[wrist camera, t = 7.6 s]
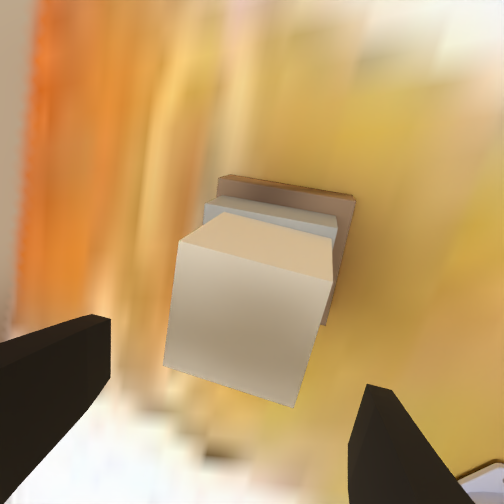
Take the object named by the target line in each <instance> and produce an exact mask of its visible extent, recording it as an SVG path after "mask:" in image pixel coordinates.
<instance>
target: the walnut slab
mask: <svg viewBox="0 0 504 504" xmlns="http://www.w3.org/2000/svg"><path fill="white" fill-rule="evenodd" d="M221 195H225V196H230V197H236V198H241V199H247V200H252V201H258V202H263V203H269V204H274V205H280V206H285V207H291V208H296V209H301V210H307V211H312V212H318V213H323V214H329V215H334V216H336V219H337V226H338V230H337V234H336V238H335V242H334V247H333V251H332V264H333V284H332V287H331V291H330V294H329V297H328V300H327V303H326V307H325V310H324V313H323V316H322V319H321V323H320V325H324V326H326V322H327V318H328V314H329V310H330V306H331V302H332V298H333V294H334V289H335V285H336V281H337V277H338V273H339V269H340V265H341V261H342V257H343V253H344V249H345V245H346V240H347V236H348V232H349V228H350V224H351V220H352V216H353V212H354V208H355V204H356V200H355V199H354V197H353V195H348V194H342V193H336V192H330V191H324V190H319V189H313V188H307V187H301V186H295V185H289V184H283V183H277V182H271V181H265V180H259V179H253V178H247V177H241V176H236V175H227V176H223V177H220V178H218V188H217V197H219V196H221ZM217 197H216V198H217Z"/></svg>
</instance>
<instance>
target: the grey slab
mask: <svg viewBox="0 0 504 504" xmlns="http://www.w3.org/2000/svg"><path fill="white" fill-rule="evenodd" d="M223 212H227V213H231V214H235V215H240V216H244V217H248V218H252V219H256V220H260V221H264V222H268V223H272V224H276V225H280V226H283V227H287V228H291V229H295V230H299V231H303V232H307V233H311V234H315V235H319V236H323V237H327V238H331V239H332V251H333V247H334V242H335V238H336V234H337V230H338V226H337V219H336V216H334V215H329V214H323V213H318V212H312V211H307V210H301V209H296V208H291V207H285V206H280V205H274V204H269V203H263V202H258V201H252V200H247V199H241V198H236V197H230V196H225V195H221V196H219V197H217V198H215V199H213V200H211V201H209V202H207V203H205V208H204V218H203V225H204V224H206V223H207V222H209V221H210V220H212V219H213V218H215V217H217V216H218V215H220V214H221V213H223Z"/></svg>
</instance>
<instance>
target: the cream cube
mask: <svg viewBox="0 0 504 504" xmlns="http://www.w3.org/2000/svg"><path fill="white" fill-rule="evenodd" d="M332 284H333V264H332V239H331V238H327V237H323V236H319V235H315V234H311V233H307V232H303V231H299V230H295V229H291V228H287V227H283V226H280V225H276V224H272V223H268V222H264V221H260V220H256V219H252V218H248V217H244V216H240V215H235V214H231V213H227V212H223V213H221V214H220V215H218V216H217V217H215V218H213V219H212V220H210V221H209V222H207V223H206V224H204V225H203V226H201V227H199V228H198V229H196V230H195V231H193V232H192V233H190V234H189V235H187V236H185V237H184V238H182V239H181V240H179V244H178V252H177V259H176V267H175V275H174V283H173V290H172V298H171V306H170V314H169V322H168V329H167V337H166V345H165V353H164V360H163V366H165V367H168V368H171V369H174V370H177V371H181V372H184V373H187V374H190V375H193V376H196V377H199V378H202V379H205V380H208V381H211V382H214V383H217V384H220V385H223V386H226V387H229V388H233V389H236V390H239V391H242V392H245V393H248V394H251V395H254V396H257V397H260V398H263V399H266V400H269V401H272V402H275V403H278V404H282V405H285V406H288V407H291V408H294V406H295V402H296V399H297V396H298V393H299V390H300V386H301V383H302V380H303V377H304V374H305V371H306V367H307V364H308V361H309V358H310V355H311V351H312V348H313V345H314V342H315V339H316V335H317V332H318V329H319V326H320V323H321V319H322V316H323V313H324V310H325V307H326V303H327V300H328V297H329V294H330V291H331V287H332Z"/></svg>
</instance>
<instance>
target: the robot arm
mask: <svg viewBox="0 0 504 504" xmlns="http://www.w3.org/2000/svg"><path fill="white" fill-rule="evenodd" d="M110 374H111V319H109V318H105V317H101V316H97V315H93V314H91V315H86V316H82V317H79V318H75V319H72V320H69V321H66V322H63V323H60V324H57V325H53V326H50V327H47V328H44V329H41V330H38V331H35V332H32V333H29V334H26V335H23V336H20V337H17V338H14V339H11V340H8V341H5V342H2V343H0V504H4V503H5V502H6V500H7V499H8V498H9V497H10V496H11V495H12V493H13V492H14V491H15V490H16V489H17V487H18V486H19V485H20V484H21V483H22V482H23V481H24V480H25V479H26V477H27V476H28V475H29V474H30V473H31V472H32V471H33V470H34V469H35V468H36V466H37V465H38V464H39V463H40V462H41V461H42V460H43V459H44V458H45V457H46V455H47V454H48V453H49V452H50V451H51V450H52V449H53V448H54V447H55V446H56V444H57V443H58V442H59V441H60V440H61V439H62V438H63V437H64V436H65V435H66V433H67V432H68V431H69V430H70V429H71V428H72V427H73V426H74V425H75V423H76V422H77V421H78V420H79V419H80V418H81V417H82V416H83V414H84V413H85V412H86V411H87V410H88V409H89V407H90V406H91V405H92V403H93V402H94V400H95V399H96V398H97V396H98V395H99V394H100V392H101V391H102V389H103V388H104V386H105V385H106V383H107V382H108V380H109V379H110ZM348 494H349V504H504V464H502V463H494V464H492V465H490V466H487V467H485V468H483V469H481V470H479V471H477V472H475V473H473V474H471V475H468V476H466V477H464V478H462V479H460V480H458V481H457V480H456V479H455V477H454V476H453V475H452V473H451V472H450V471H449V469H448V468H447V467H446V465H445V464H444V463H443V461H442V460H441V459H440V457H439V456H438V455H437V453H436V452H435V451H434V449H433V448H432V446H431V445H430V444H429V442H428V441H427V439H426V438H425V437H424V435H423V434H422V432H421V431H420V430H419V428H418V427H417V425H416V424H415V423H414V421H413V420H412V418H411V417H410V415H409V414H408V412H407V411H406V410H405V408H404V407H403V405H402V404H401V402H400V401H399V400H398V398H397V397H396V395H395V394H394V393H393V391H392V390H389V389H385V388H381V387H378V386H374V385H370V384H367V385H366V388H365V391H364V394H363V398H362V401H361V404H360V407H359V411H358V414H357V417H356V420H355V424H354V427H353V430H352V433H351V437H350V440H349V443H348Z"/></svg>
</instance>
